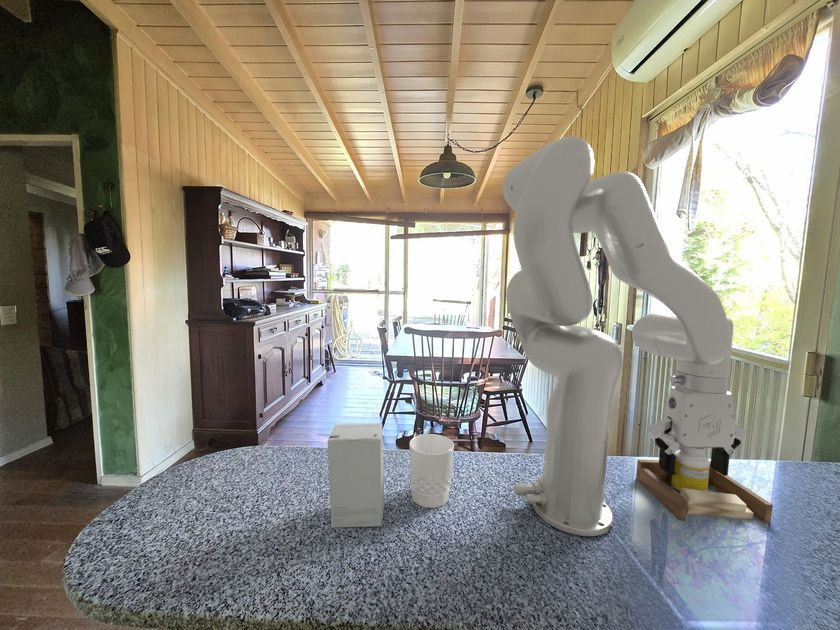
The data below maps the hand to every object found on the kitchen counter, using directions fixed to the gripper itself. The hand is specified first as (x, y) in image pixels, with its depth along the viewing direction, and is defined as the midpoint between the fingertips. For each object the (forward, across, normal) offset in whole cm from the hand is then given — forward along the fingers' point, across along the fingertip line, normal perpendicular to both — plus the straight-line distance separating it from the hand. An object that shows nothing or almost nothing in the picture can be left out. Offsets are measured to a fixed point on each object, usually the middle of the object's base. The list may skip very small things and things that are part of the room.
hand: (692, 471), depth 67 cm
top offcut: (+3, 0, -5) cm, 6 cm away
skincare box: (+3, -61, -9) cm, 62 cm away
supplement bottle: (+5, -1, 0) cm, 5 cm away
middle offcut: (+4, 0, -6) cm, 7 cm away
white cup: (+4, -49, -3) cm, 49 cm away
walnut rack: (+4, -1, -3) cm, 5 cm away
